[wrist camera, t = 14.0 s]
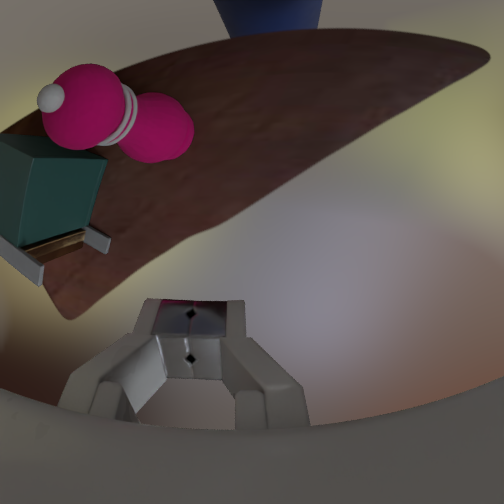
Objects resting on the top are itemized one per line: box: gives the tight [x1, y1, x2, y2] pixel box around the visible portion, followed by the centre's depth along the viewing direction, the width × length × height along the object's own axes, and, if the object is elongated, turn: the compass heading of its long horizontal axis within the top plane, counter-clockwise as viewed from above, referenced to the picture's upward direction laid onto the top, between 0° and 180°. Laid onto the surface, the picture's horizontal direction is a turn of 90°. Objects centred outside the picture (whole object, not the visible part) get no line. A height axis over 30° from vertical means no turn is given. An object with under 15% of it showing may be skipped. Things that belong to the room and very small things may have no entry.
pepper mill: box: [37, 64, 194, 163], centre depth 21 cm, size 7×7×20 cm
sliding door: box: [20, 228, 86, 264], centre depth 29 cm, size 2×7×11 cm, turn 66°
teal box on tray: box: [0, 134, 111, 287], centre depth 27 cm, size 11×15×13 cm
